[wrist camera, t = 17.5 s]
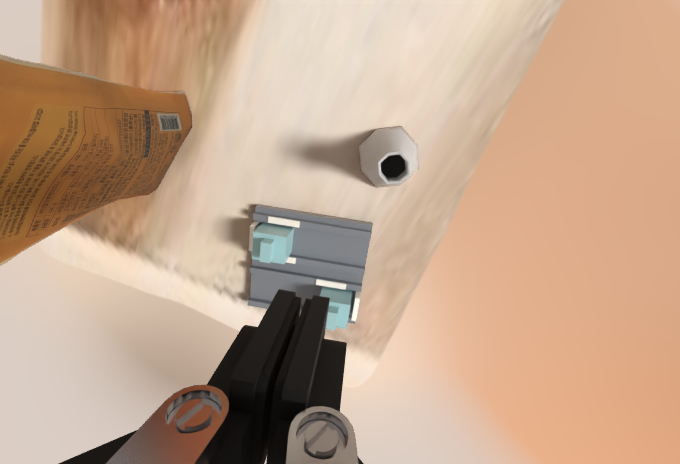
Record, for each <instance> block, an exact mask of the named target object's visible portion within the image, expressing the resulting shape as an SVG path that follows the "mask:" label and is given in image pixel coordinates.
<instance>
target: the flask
mask: <svg viewBox="0 0 680 464" xmlns="http://www.w3.org/2000/svg"><path fill="white" fill-rule="evenodd" d="M359 156H360V167H361V171H362V172H363V173H364V174H365V175H366V176H367V178H368V179H369V180H370V181H371V182H372V183H373V184H374V185H375V186H376V187H386V186H396V185H401V184H402V183H403V182H404V181H405V180H406V179H407V178H409V177H410V176H411V175H412V174H413V173H414V172H416V171H417V170H418V151H417V144H416V143H415V142H414V140H413V139H412V138H411V137H410V136H409V135H408V133H407V132H406V131H405V130H404V129H403V128H402V126H399V127H390V128H382V129H376V130H375V131H374V132H373V133H372V134H371V135H370V136H369V137H368V138H367V139H366V140H365V141H364V142H363V143H361V144H360V145H359Z"/></svg>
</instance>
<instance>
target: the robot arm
mask: <svg viewBox="0 0 680 464" xmlns="http://www.w3.org/2000/svg"><path fill="white" fill-rule="evenodd" d="M329 302H330V298H328V297H322V296H316V295H313V297H312V299H307V298H306V300H305V303H304V305H303V308H302V311H301V314H300V307H301V297H296V292H293V291H287V290H281V289H279V290H278V291H277V293H276V295H275V297H274V299H273V300H272V302H271V304H270V306H269V308H268V309H267V311H266V313H265V315H264V317H263V319H262V320H261V322H260V324H259V326H258V327H254V326H248V325H245V326H243V328H242V329H241V331H240V332H239V334H238V335H237V337H236V339H235V340H234V342H233V343H232V345H231V347H230V349H229V350H228V351H227V353H226V355H225V356H224V358H223V360H222V361H221V363H220V365H219V366H218V368H217V369H216V371H215V372H214V374H213V376H212V377H211V379H210V381H209V382H208V384H207V385H194V386H191V387H187V388H184V389H182V390H180V391H178V392H176V393H174V394H173V395H172V396H171V397H169V398H168V399H167V400H166V401H165V402H164V403H163V404H162V405H161V406H160V407H159V408H158V409H157V410H156V411H155V412H154V413H153V414H152V415H151V417H150V418H149V419H148V420H147V421H146V422H145V423H144V424H143V425H142V426H141V427H140V428H139V429H138V430H136V431H134V432H131V433H129V434H127V435H124V436H122V437H120V438H117V439H115V440H113V441H110V442H108V443H106V444H103V445H101V446H99V447H96V448H94V449H92V450H89V451H87V452H85V453H82V454H80V455H78V456H75V457H73V458H71V459H68V460H66V461H64V462H62V463H59V464H264V463H265V460H266V456H267V463H266V464H363V463H362V461H361V460H360V459H359V458H358V456H357V447H356V439H355V433H354V430H353V426H352V425H351V423H350V422H349V420H348V419H347V418H346V417H345V416H344V415H343V414H342V413H340V403H341V402H340V401H341V393H342V384H343V374H344V365H345V355H346V345H347V343H345V342H339V341H334V340H328V339H324V335H325V328H326V322H327V315H328V308H329Z"/></svg>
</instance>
